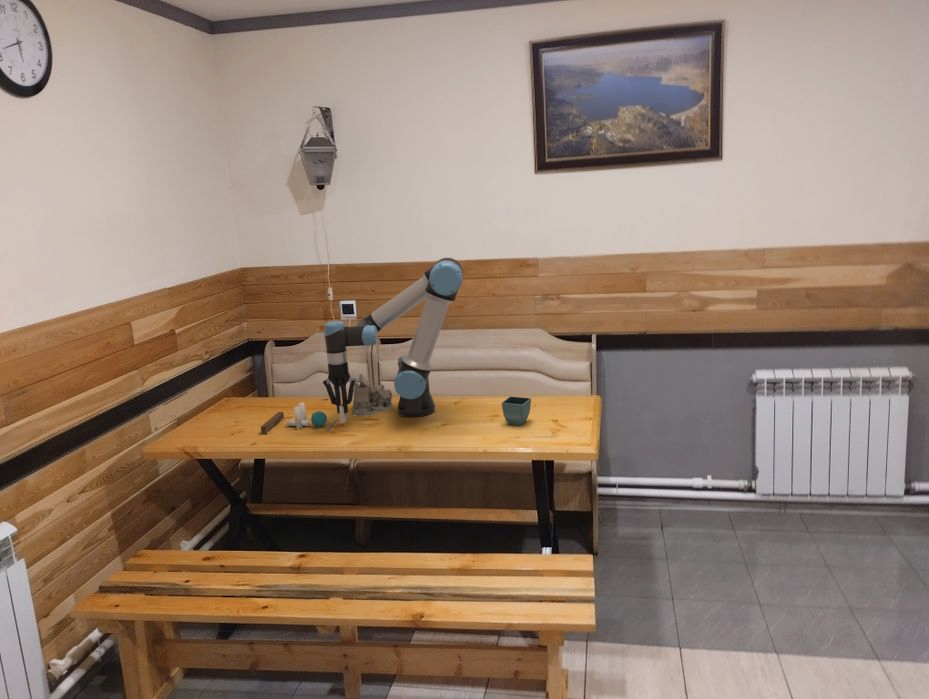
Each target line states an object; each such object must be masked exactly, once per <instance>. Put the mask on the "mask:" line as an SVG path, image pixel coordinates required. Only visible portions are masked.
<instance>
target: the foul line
mask: <svg viewBox="0 0 929 699" xmlns="http://www.w3.org/2000/svg"><path fill="white" fill-rule="evenodd" d="M336 422H337V423H338V422H339V420H338V419H337V420H333V422H332V423H331V424H330V425H329V427H327V428H326V429H325V432H329V431H331V429H332V428H333V427H334V426H335V425H336V424H337V423H336ZM335 423H336V424H335ZM334 424H335V425H334ZM333 425H334V426H333ZM332 426H333V427H332Z"/></svg>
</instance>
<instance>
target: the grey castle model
mask: <svg viewBox="0 0 929 699" xmlns="http://www.w3.org/2000/svg"><path fill="white" fill-rule="evenodd" d="M358 380H359V383H358V382H355V384H354V390H353V399H352V406H351V416H353V415H356V416H355V417H365V416H364V415H369V416H371V415H372V414H373V415H376V414H380V413H384V412H387V411H390V410H392V409H393V407H394V404H393V402H392V398H393V397H392V396H393V393H392V391H391V390H390V389H385V384H382V383H381V384H380V385H371V384H370V383H369V382H368V381H367V379H366V378H365V377H364V376H363V373H359V375H358ZM379 412H380V413H379ZM375 413H376V414H375ZM373 415H372V416H373Z"/></svg>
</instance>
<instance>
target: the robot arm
mask: <svg viewBox="0 0 929 699" xmlns="http://www.w3.org/2000/svg"><path fill="white" fill-rule="evenodd" d="M463 272H464V271H463V268H462V265H461V264H460V262H458V261H457V260H456V259H454V258H452V257H443V258H441V259H439V260H437V261H436V262H435V263H434V264H433V265H432V266H431V267H430V268H429V269H427V270H426V271H424V272H423V274H422V277H420V278H419V279H418V280H417V281H415V282H413V283H412V284H410V286H408V287H407V288H405V289H404V290H402V291H401V292H399V293H398V294H397V295H395V296H394V297H392V298H390V299H389V300H388V301H387V302H385V303H384V304H382V305H381V306H380V307H378V308H377V309H375V310H374V311H373V312H371V313H369V315H368V314H367V316H365V317H363V318H361V319H360V320H359V321H358V322H357V324H356V325H355V326H354V325H352V326H345V323H344V321H341V320H335V321H328V322H327V323H324V325H323V326H324V329H323V330H324V336H323V337H324V340H325V348H326V362H327V363H328V364H327V370H328V371H327V372H328V375H327V378H325V379H324V380H323V381H322V384H323V385H324V387H325V389H326V392H327V394H328V397H329V399H330V400H329V401H330V402H331V405H335V406H336V409H337V410H336V412H337V415H338V414H339V417H340V418H339V419H340V423H346V422H347V413H348V412H349V407H348V405H350V404H351V403H353V398H354V384H355V383H357V379H356V378H353V377H352V376H351V374H350V373H349V372H350V371H349V362H348V353H347V350H348V349H347V347H360V346H361V347H364V346H365V347H366V346H367V347H369V346H375V345H377V343H378V333H379V332H380V331H382V330H383V329H384V328H386V327H388V325H391V323H393V322H394V321H396V320H398V319H399V318H400V317H402V316H403V315H405V314H406V313H407V312H409V311H410V310H412V309H413V308H415V307H416V306H418V305H419V304H420V303H422V302H423V301H425V302H424V306H423V308H422V311H421V314H420V318H419V320H418V324H417V327H416V330H415V332H414V336H413V337H412V342H411V344H410V347H409V351H408V353H407V355H401V356H400V357H398V359H397V365H398V366H397V367H398V369H397V370H398V371H397V372H396V376H395V378H394V379H393V380H394V381H393V385H394V390H395V392H396V393H397V395H399V399H398V402H397V404H398V405H397V414H398V416H402V417H405V418H407V417H409V418H419V417H423V416H428V415H432V414H433V413H435V411H436V404H435V401H434V398H433V396H432V395H431V391H430V379H429V378H430V377H429V376H430V374H431V371H432V366H431V364H430V361H431V358H432V355H433V353H434V350H435V346H436V344H437V342H438V338H439V335H440V332H441V329H442V326H443V324H444V320H445V317H446V315H447V311H448V309H449V306H450V304H452V303H455V301H456V298H457V296H458V293H459V290H460V288H461V286H462V284H463V274H464V273H463ZM347 383H348V384H349V386H348V391H347ZM332 385H333V387H332ZM347 393H348V394H347Z"/></svg>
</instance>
